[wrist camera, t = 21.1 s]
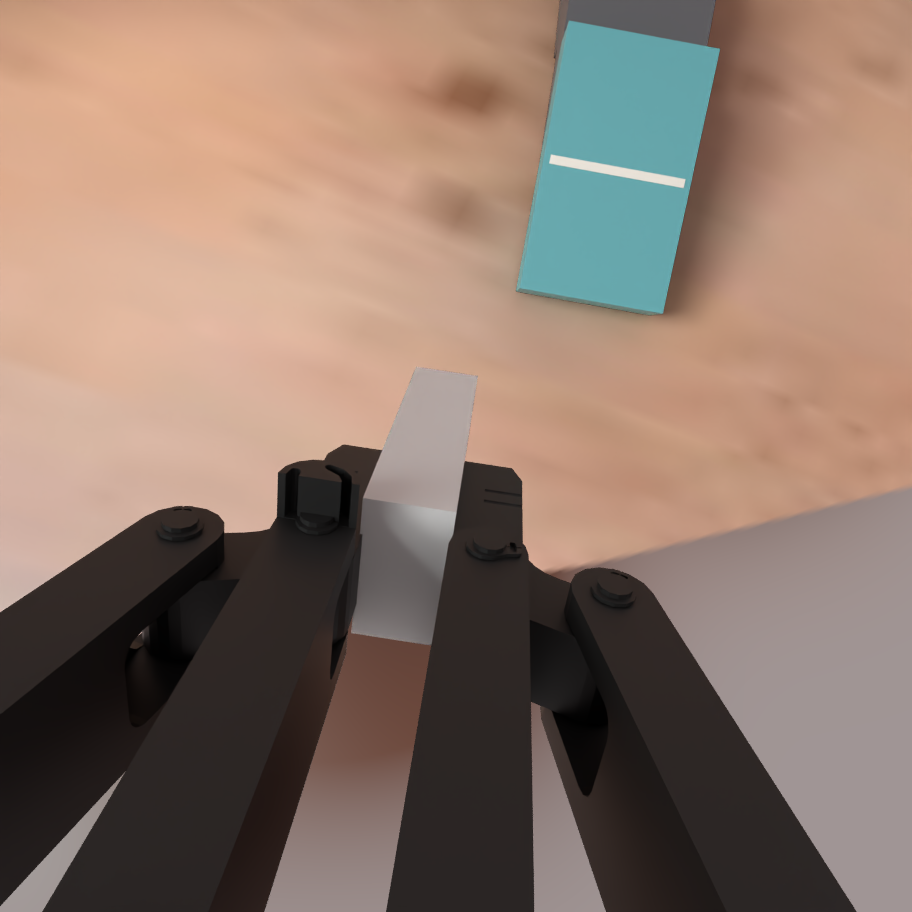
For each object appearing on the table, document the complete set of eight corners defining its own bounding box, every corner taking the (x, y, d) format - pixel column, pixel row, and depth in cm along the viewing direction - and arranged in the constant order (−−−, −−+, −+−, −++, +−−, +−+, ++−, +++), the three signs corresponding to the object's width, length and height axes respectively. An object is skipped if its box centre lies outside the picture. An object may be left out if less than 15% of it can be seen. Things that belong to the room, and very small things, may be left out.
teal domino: (663, 313, 35) (720, 48, 33) (519, 288, 34) (569, 20, 33) (649, 315, 37) (702, 68, 35) (515, 291, 37) (561, 42, 35)
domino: (681, 181, 36) (731, -83, 34) (544, 159, 36) (585, -107, 34) (667, 191, 39) (712, -55, 37) (538, 171, 38) (576, -77, 36)
